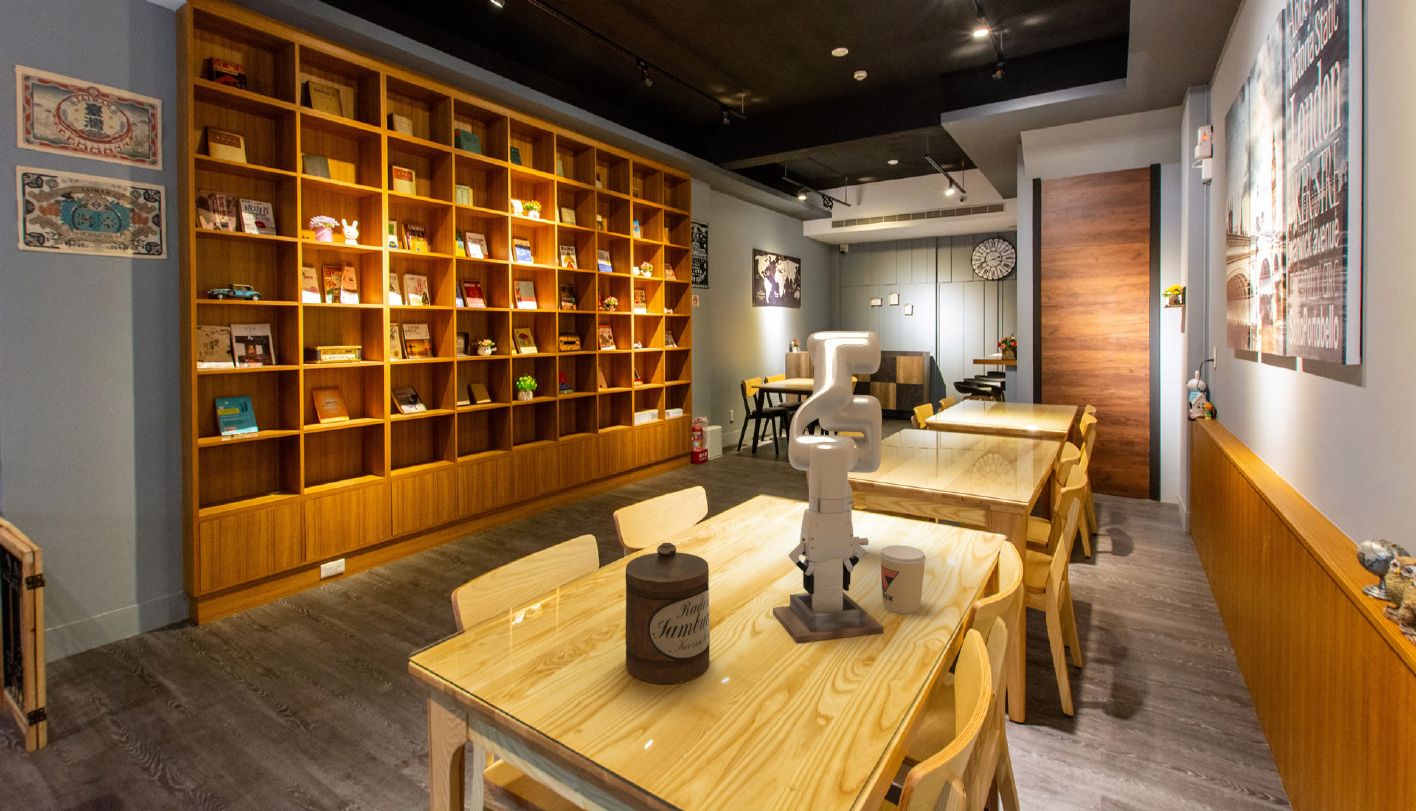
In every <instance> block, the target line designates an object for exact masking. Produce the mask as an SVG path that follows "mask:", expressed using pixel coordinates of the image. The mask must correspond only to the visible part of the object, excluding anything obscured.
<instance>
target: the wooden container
mask: <svg viewBox="0 0 1416 811" xmlns="http://www.w3.org/2000/svg"><path fill="white" fill-rule="evenodd" d="M709 572H710V570H709V562H708V561H707V560H706V559H704V558H703V557H700V556H698V555H695V554H691V553H686V552H678V551H677V547H676V545H675V544H673V543H671V542H662V543H661V544H660V545H658V547H657V548H656V552H653V553H647V554H643V555H640V556H637V557H634V558H633V559H631V560H630V561H628V563H627V564H626V566H625V667H626V669H627V671H628V672H629V674H631V675H632V676H633V677H635V678H636V679H638V680H641V681H643V682H646V681H647V682H648V683H650V682H651V684H657V683H673V684H678V683H677V682H680V683H682V682H681V681H685V682H687V681H686V680H688V681H690V679H691V680H693V679H692V678H694V679H696V678H697V676H698V677H699V676H701V675H702V674H704V673H705V671H706V670H707V669H708V668H709V665H710V650H711V649H710V641H711V640H710V639H711V638H710V633H711V631H710V628H711V626H710V625H711V624H710V623H711V621H710V592H709V591H710V586H709V579H710V575H709V574H710V573H709ZM703 672H704V673H703ZM695 677H696V678H695ZM647 682H646V683H647Z"/></svg>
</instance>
